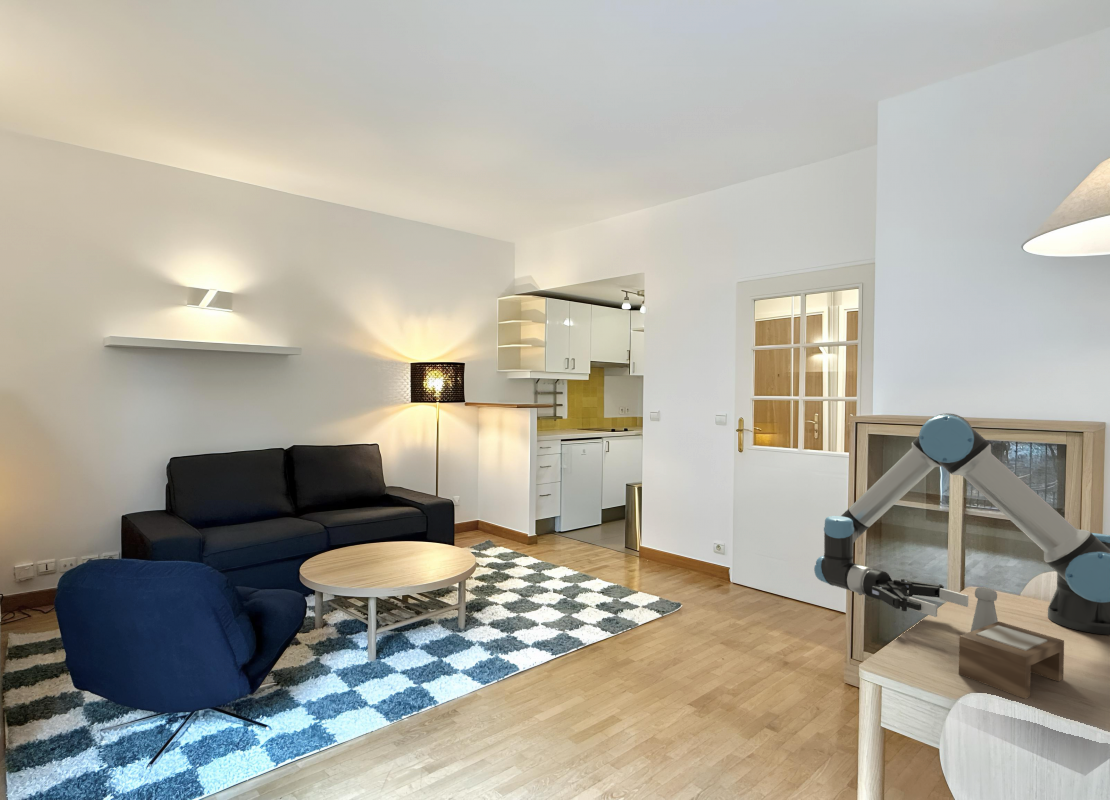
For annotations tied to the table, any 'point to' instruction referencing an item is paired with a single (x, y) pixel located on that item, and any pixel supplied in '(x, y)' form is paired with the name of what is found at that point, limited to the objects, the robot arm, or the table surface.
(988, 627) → the walnut shelf
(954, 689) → the table surface
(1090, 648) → the table surface
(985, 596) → the salt shaker
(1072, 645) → the table surface
